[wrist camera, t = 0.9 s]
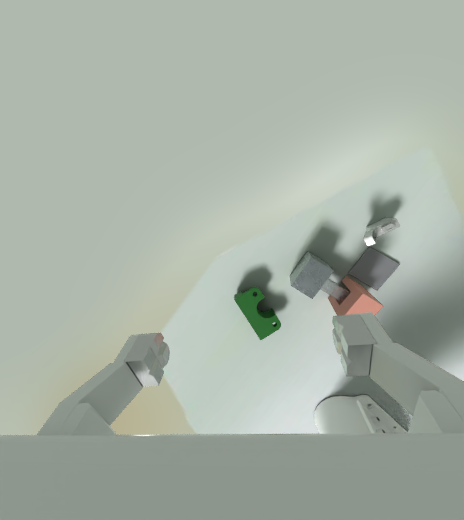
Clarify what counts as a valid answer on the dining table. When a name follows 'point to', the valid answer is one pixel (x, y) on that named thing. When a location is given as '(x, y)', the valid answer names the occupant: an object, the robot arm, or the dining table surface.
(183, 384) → the dining table surface
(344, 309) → the tall salmon pink brick
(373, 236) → the lighter
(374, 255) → the mat
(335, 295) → the vise
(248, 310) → the clamp
